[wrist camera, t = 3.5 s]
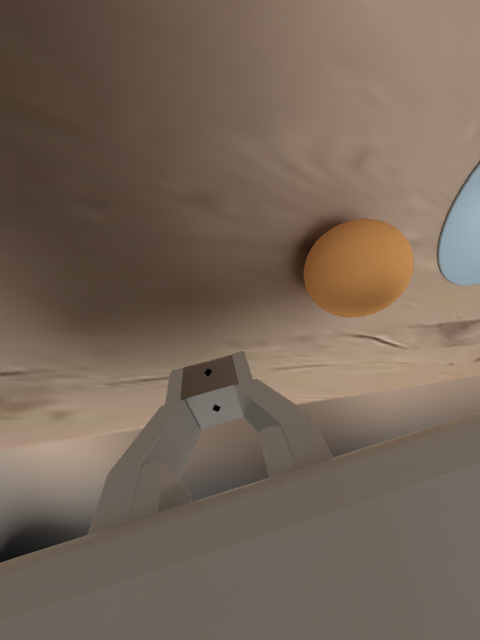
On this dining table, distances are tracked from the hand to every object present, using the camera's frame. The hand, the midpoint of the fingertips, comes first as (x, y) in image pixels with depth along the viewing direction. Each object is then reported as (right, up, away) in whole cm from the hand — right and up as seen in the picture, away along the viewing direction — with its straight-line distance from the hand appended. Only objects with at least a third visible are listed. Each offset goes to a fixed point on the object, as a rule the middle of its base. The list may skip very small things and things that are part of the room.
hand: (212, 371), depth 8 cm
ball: (+8, +5, +3) cm, 10 cm away
